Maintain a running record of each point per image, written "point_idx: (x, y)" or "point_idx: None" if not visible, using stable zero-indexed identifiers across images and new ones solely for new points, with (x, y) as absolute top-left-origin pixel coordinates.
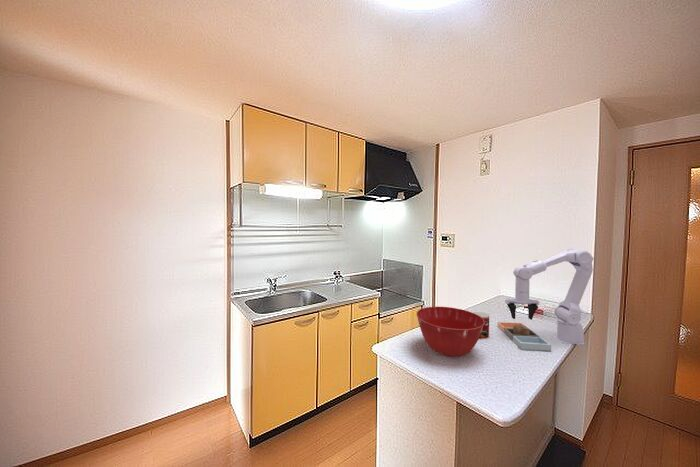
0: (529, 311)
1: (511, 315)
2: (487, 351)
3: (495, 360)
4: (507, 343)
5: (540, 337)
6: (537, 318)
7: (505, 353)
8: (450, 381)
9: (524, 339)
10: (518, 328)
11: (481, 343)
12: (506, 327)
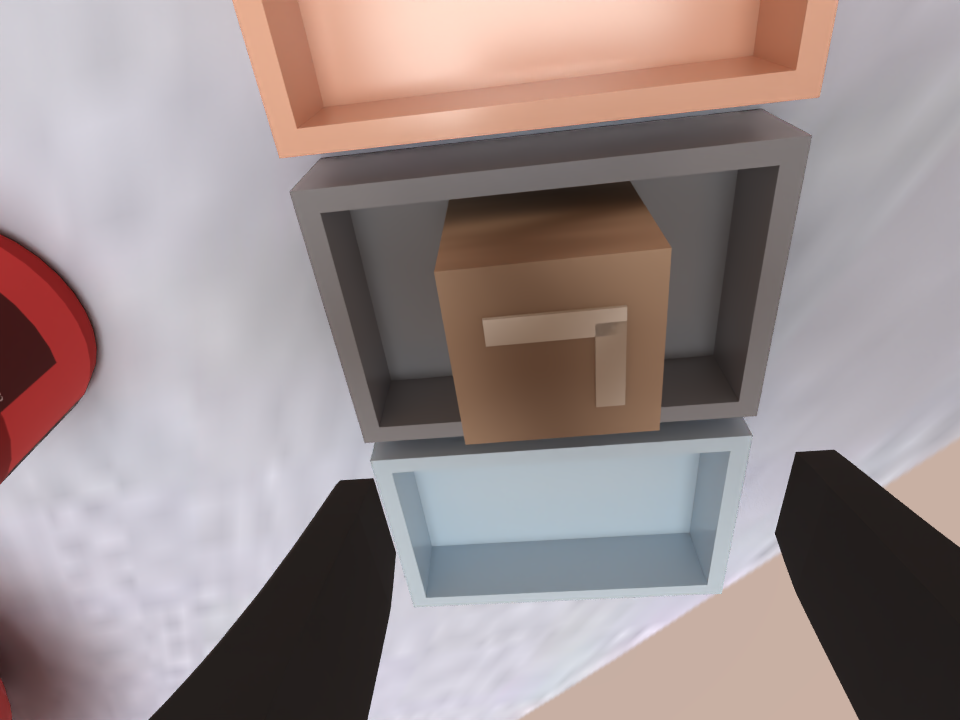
0: (934, 684)
1: (313, 523)
2: (138, 608)
3: None
4: (318, 452)
5: (739, 447)
6: None
7: None
8: None
9: None
10: (471, 436)
11: (58, 500)
12: (332, 129)
